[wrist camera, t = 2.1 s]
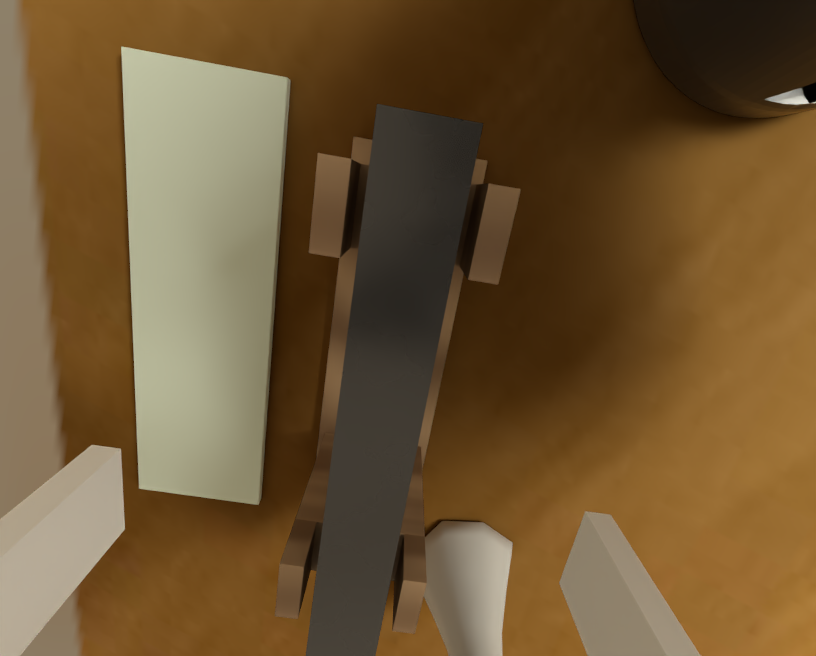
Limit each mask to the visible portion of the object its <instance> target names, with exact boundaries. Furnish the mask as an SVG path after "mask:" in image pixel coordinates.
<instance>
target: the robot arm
mask: <svg viewBox="0 0 816 656" xmlns="http://www.w3.org/2000/svg"><path fill="white" fill-rule="evenodd" d="M634 5H635V10H636V15H637V19H638V22H639V26H640V29H641V32H642V35H643V38H644V40H645V42H646V44H647V47H648V49H649V51H650V53H651V55H652V56H653V58H654V60H655V62H656V63H657V65H658V66H659V68H660V69H661V70H662V72H663V73H664V74H665V76H666V77H667V78H668V79H669V80H670V81H671V82H672V83H673V84H674V85H675V86H676V87H677V88H678V89H679V90H680V91H681V92H682V93H684V94H685V95H686V96H688V97H689V98H691V99H692V100H694V101H695V102H697V103H699V104H700V105H702V106H705V107H707V108H709V109H711V110H714V111H717V112H719V113H723V114H727V115H731V116H737V117H744V118H770V117H778V116H784V115H789V114H794V113H799V112H804V111H809V110H814V109H816V0H634ZM124 530H125V520H124V500H123V480H122V460H121V449H120V448H112V447H105V446H97V445H91V446H90V447H89V448H87V449H86V450H85V451H84V452H82V453H81V454H80V455H79V456H77V457H76V458H75V459H74V460H72V461H71V462H70V463H69V464H67V465H66V466H65V467H64V468H63V469H61V470H60V471H59V472H58V473H56V474H55V475H54V476H53V477H51V478H50V479H49V480H48V481H46V482H45V483H44V484H43V485H42V486H40V487H39V488H38V489H37V490H36V491H34V492H33V493H32V494H30V495H29V496H28V497H27V498H25V499H24V500H23V501H22V502H21V503H19V504H18V505H17V506H16V507H14V508H13V509H12V510H11V511H9V512H8V513H7V514H6V515H4V516H3V517H2V518H1V519H0V656H20V655H21V654H22V653H23V651H24V650H25V649H26V648H27V647H28V645H29V644H30V643H31V642H32V640H33V639H34V638H35V637H36V636H37V634H38V633H39V632H40V631H41V630H42V628H43V627H44V626H45V625H46V623H47V622H48V621H49V620H50V619H51V618H52V616H53V615H54V614H55V613H56V612H57V610H58V609H59V608H60V607H61V605H62V604H63V603H64V602H65V601H66V600H67V598H68V597H69V596H70V595H71V593H72V592H73V591H74V590H75V589H76V587H77V586H78V585H79V584H80V583H81V581H82V580H83V579H84V578H85V577H86V575H87V574H88V573H89V572H90V571H91V569H92V568H93V567H94V566H95V565H96V563H97V562H98V561H99V560H100V559H101V557H102V556H103V555H104V554H105V553H106V551H107V550H108V549H109V548H110V546H111V545H112V544H113V543H114V542H115V540H116V539H117V538H118V537H119V536H120V534H121V533H122V532H123V531H124ZM559 584H560V586H561V589H562V591H563V594H564V596H565V599H566V601H567V604H568V607H569V609H570V612H571V614H572V617H573V619H574V622H575V624H576V627H577V629H578V632H579V634H580V637H581V640H582V642H583V645H584V647H585V650H586V652H587V655H588V656H700V654H699V653H698V651H697V650H696V648H695V646H694V645H693V643H692V642H691V640H690V639H689V637H688V635H687V634H686V632H685V631H684V629H683V628H682V626H681V624H680V623H679V621H678V620H677V618H676V617H675V615H674V613H673V612H672V610H671V609H670V607H669V606H668V604H667V602H666V601H665V599H664V598H663V596H662V595H661V593H660V591H659V590H658V588H657V587H656V585H655V584H654V582H653V580H652V579H651V577H650V576H649V574H648V573H647V571H646V569H645V568H644V566H643V565H642V563H641V562H640V560H639V558H638V557H637V555H636V554H635V552H634V551H633V549H632V547H631V546H630V544H629V543H628V541H627V540H626V538H625V536H624V535H623V533H622V532H621V530H620V529H619V527H618V525H617V524H616V522H615V521H614V519H613V518H612V516H611V515H609V514H602V513H594V512H587V511H585V514H584V516H583V519H582V522H581V525H580V527H579V530H578V533H577V536H576V538H575V541H574V544H573V547H572V549H571V552H570V555H569V558H568V560H567V563H566V566H565V569H564V571H563V574H562V577H561V580H560V582H559Z"/></svg>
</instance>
